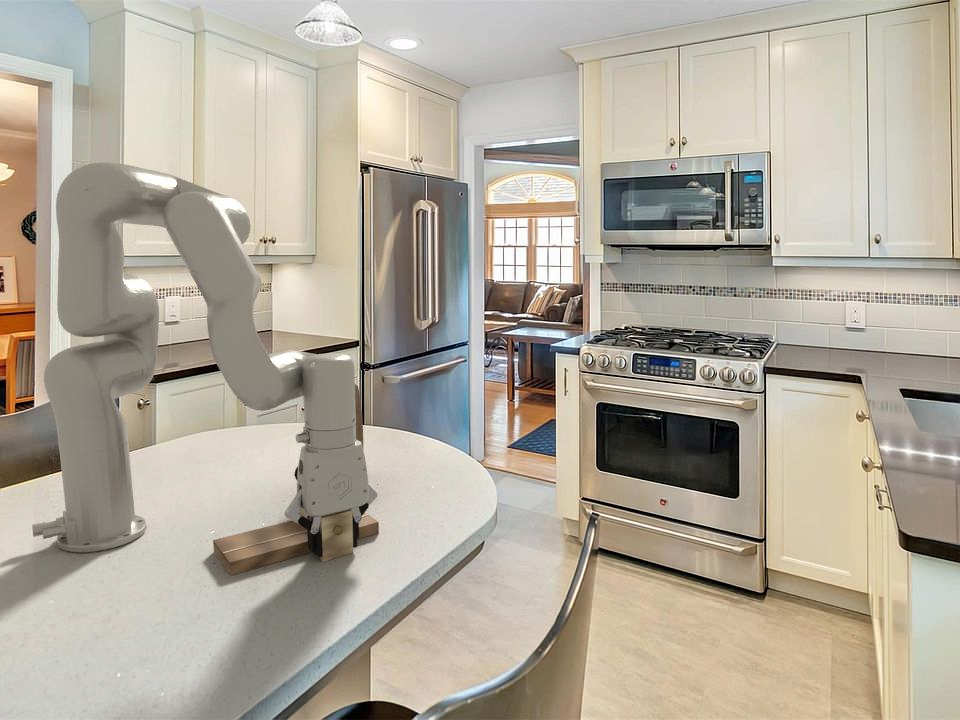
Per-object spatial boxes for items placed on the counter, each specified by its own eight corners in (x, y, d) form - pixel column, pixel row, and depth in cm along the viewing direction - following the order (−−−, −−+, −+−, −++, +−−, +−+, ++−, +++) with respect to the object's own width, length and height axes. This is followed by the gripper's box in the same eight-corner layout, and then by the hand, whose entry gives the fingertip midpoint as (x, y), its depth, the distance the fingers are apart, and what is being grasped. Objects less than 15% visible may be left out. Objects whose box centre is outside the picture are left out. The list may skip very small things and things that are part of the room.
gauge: (324, 563, 96) (322, 519, 95) (291, 531, 107) (289, 492, 106) (354, 553, 99) (353, 511, 98) (319, 524, 110) (318, 485, 108)
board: (230, 575, 92) (230, 561, 92) (213, 552, 99) (213, 539, 99) (378, 533, 106) (378, 521, 106) (354, 515, 114) (354, 504, 113)
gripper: (283, 452, 88) (289, 575, 91) (392, 432, 98) (394, 543, 101) (265, 439, 94) (271, 555, 97) (370, 422, 104) (372, 527, 107)
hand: (334, 548), depth 99 cm, fingers closed on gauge, 5 cm apart
